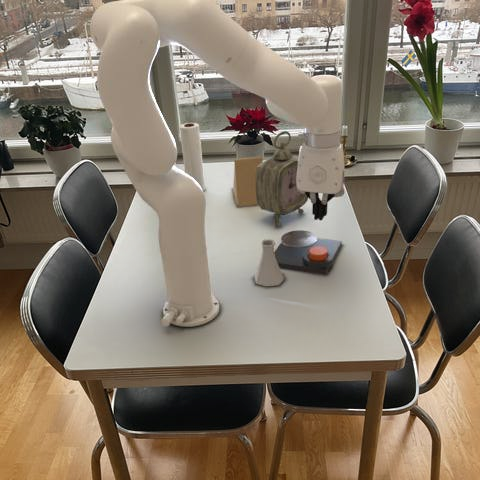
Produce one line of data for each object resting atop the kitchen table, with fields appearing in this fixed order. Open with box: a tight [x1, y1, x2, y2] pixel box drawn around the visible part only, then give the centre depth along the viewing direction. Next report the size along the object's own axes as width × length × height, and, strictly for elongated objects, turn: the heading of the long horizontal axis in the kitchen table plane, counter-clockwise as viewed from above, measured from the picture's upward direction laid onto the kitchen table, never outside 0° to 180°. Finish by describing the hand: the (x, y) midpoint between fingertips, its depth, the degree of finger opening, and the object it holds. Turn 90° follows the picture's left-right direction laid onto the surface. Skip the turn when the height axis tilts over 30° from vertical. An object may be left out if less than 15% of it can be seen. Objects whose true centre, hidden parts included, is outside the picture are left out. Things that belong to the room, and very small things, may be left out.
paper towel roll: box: [179, 122, 206, 192], centre depth 172 cm, size 7×6×21 cm
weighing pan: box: [280, 229, 319, 248], centre depth 139 cm, size 9×9×1 cm
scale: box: [274, 237, 343, 276], centre depth 137 cm, size 16×16×3 cm
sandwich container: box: [232, 156, 264, 208], centre depth 168 cm, size 9×15×15 cm, turn 6°
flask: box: [253, 239, 285, 287], centre depth 126 cm, size 7×7×10 cm
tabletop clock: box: [255, 130, 309, 228], centre depth 150 cm, size 14×9×25 cm, turn 137°
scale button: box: [309, 247, 328, 261], centre depth 131 cm, size 4×4×2 cm
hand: (319, 217), depth 125 cm, fingers closed
